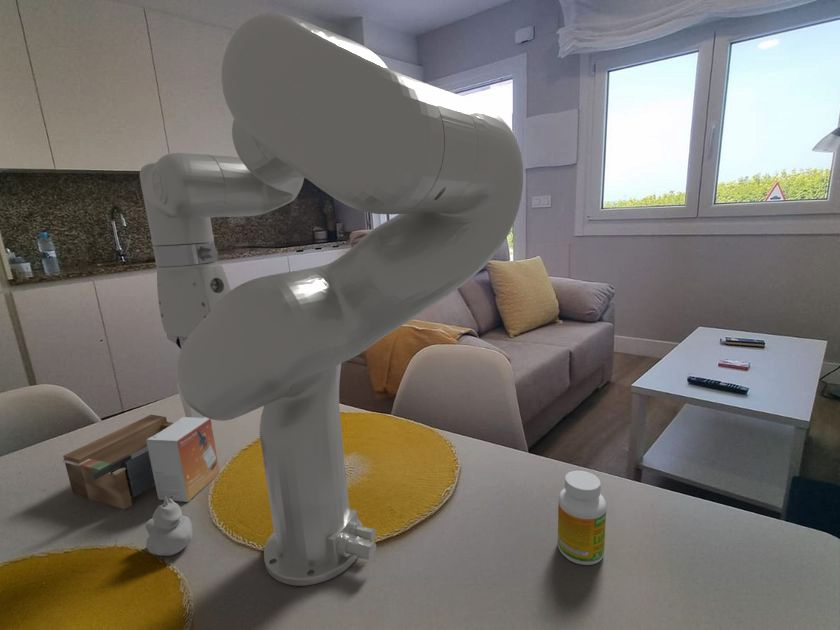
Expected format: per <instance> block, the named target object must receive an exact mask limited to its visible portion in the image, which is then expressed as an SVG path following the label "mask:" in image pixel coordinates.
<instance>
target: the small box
mask: <svg viewBox="0 0 840 630" xmlns="http://www.w3.org/2000/svg"><path fill="white" fill-rule="evenodd" d="M172 423H173V424H172V425H170V426H169V427H167V428H165V429H164V430H162V431H161V432H159V433H157V434H156V435H154V436H152V437H150V438H148V439H147V440H146V442H147V447H148V452H149V457H150V461H151V466H152V471H153V476H154V481H155V484H154V485H155V490H156V494H157V499H158V500H160V501H164V499H165V497H167V500H168V499H169V498H170V499H172V500H173V501H174V502H184V503H185V502H186V503H188V502H191V500H192V499H193V498H194V497H195V496H197V495H198V493H200V492H201V491H202V490H203V489H204V488H205V487H207V486H208V484H210V483H211V482H213V480H215V479H216V478H218V476H220V468H219V466H220V465H219V461H218V455H217V448H216V443H215V437H214V432H213V425H212V424H213V423H212V419H209V418H194V417H186V416H182V417H180V418H179V419H178V420H177V421H175V422H172Z"/></svg>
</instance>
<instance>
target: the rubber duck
mask: <svg viewBox="0 0 840 630" xmlns="http://www.w3.org/2000/svg"><path fill="white" fill-rule="evenodd" d="M144 528H145V530H146V532H147V533H148V538H147V539H146V548H147V550H148V552H149V553H151V554H152V555H157V556H166V557H168V556H173V555H176V554H178V553H179V552H181V551H183V550H184V548H186V547H187V546H189V544H190V543H191V541H192V540H193V524H192V521H191V519H190V518H189V517H188V516H186V515H183V511H182V509H181V506H180V505H179V503H177V502H176V501H173V500H172V499H170V498H169V499H168V500H167V497H165V499H164V500H163V503H162V504H159V505H157V507H156V509H155V510H154V512H153V514H152V518H150V519H149V520H148V521H147V522H146V523H145V524H144Z"/></svg>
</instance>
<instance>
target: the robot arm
mask: <svg viewBox="0 0 840 630" xmlns="http://www.w3.org/2000/svg"><path fill="white" fill-rule="evenodd" d="M221 87H222V94H223V97H224V100H225V102H226V105H227V107H228V110H229V111H230V114H231V115H232V117H233V118H234V119H233V122H232V127H231V138H232V142H233V145H234V149H235V151H236V154H237V156H228V155H213V154H200V153H188V152H187V153H186V152H171V153H167V154H164V155H163V156H161V157H160V158H159V159H157V161H156V162H152V163H151V162H150V163H148V164H147V163H146V164H145V165H143V166H142V167H141V169H140V171H139V180H140V186H141V192H142V198H143V203H144V206H145V212H146V217H147V222H148V228H149V234H150V238H151V242H152V243H151V245H152V250H153V255H154V260H155V265H156V291H157V300H158V308H159V313H160V314H159V315H160V318H161V319H160V320H161V323H162V327H163V330H164V332H165V334H166V338H167V340H169V341H170V342H172V343H174V344H175V345H176V346H177V347H178V348H179V349H180V351H179V355H178V359H177V367H176V372H177V373H176V375H177V383H179V387H180V390H181V393H182V395H183V397H184V399H185V400H186V402H187V403H188V404H189V405H190V406H191V408H192V409H194V410H195V411H196V412H197V413H199V414H200V415H202V416H204V417H206V418H209V419H211V420H214V421H230V420H234V419H236V418H240V417H241V416H244V415H247V414H248V413H249V414H250V412H253V411H255V410H258V409H260V408H262V410H261V411H262V412H261V416H260V422H259V440H260V447H261V453H262V460H263V467H264V472H265V479H266V480H265V482H266V488H267V494H268V495H267V496H268V501H269V507H270V513H271V521H272V528H273V532H272V533H271V535H270V536H269V537H268V539H267V540H266V543H265V546H264V548H263V549H264V550H263V558H264V559H263V560H264V564H265V565H264V566H265V568H266V571H267V572H268V574H269V575H270V576H271V577H272V578H273V579H275V580H276V581H278V582H280V583H282V584H285V585H286V584H287V585H291V586H311V585H316V584H319V583H320V584H321V583H323V582H326V581H328V580H329V581H330V580H331V579H333V578H335V577H337V576H338V575H340V574H342V573H344V571H346V570H347V569H348V568H349V567H351V566H352V565H353V564H354V562H355V561H357V560H358V558H359V559H362V560H366V561H373V559H374V558H375V556H376V552H377V543H376V542H374V541H375V538H376V537H377V536H376V535H377V530H376V529H375V528H373V527H372V528H371V527H367V526H363V523H362V522H361V520H360V519H359V518H358V510H357V509H351V508H350V501H349V493H348V482H347V474H346V472H347V471H346V462H345V453H344V443H343V434H342V433H343V430H342V423H341V422H342V421H341V411H340V410H341V409H340V380H341V379H340V378H341V369H342V363H345V362H347V361H349V360H351V359H354V358H355V357H356V356H359V355H360V354H362V353H363V352H365V351H366V350H368V349H369V348H370V347H371V346H373V345H375V344H376V343H377V342H379V341H380V340H381V339H383V338H384V337H386V336H388V335H389V334H391V333H392V332H394V331H396V330H398V329H399V328H401V327H402V326H404V325H405V324H407V323H409V322H410V321H412V320H413V319H415V318H416V317H417V316H419V315H421V314H422V313H423V312H425V311H426V310H428V309H429V308H431V307H432V306H434V305H435V304H437V303H439V302H440V301H442V300H443V299H445V298H446V297H448V296H449V295H451V294H452V293H454V292H456V291H457V290H458V289H460V288H461V287H462V286H464V285H465V284H466V283H467V282H469V281H470V280H471V279H473V277H475V276H476V275H477V274H478V273H479V272H480V271H481V270H482V269H483V268H484V267H486V265H487V264H488V263H489V262H490V261H491V260H492V258H493V257H495V255H496V254H497V253H498V251H499V250H500V248H501V247H502V246H503V244H504V242H506V239H507V238H508V236H509V234H510V232H511V230H512V228H513V226H514V223H515V220H516V218H517V216H518V212H519V211H520V210H519V209H520V205H521V200H522V196H523V190H524V189H523V187H524V164H523V158H522V153H521V148H520V146H519V143H518V139H517V138H516V136H515V134H514V132H513V131H512V129H511V127H510V126H509V125H508V123H506V122H505V121H504V119H503V118H502V117H500V115H498V114H497V113H496V112H494V111H493V110H492V109H490V108H489V107H487V106H485V105H483V104H481V103H480V102H477V101H475V100H472V99H470V98H467V97H465V96H462V95H460V94H457V93H454V92H452V91H448V90H446V89H442V88H440V87H437V86H434V85H431V84H429V83H426V82H423V81H422V80H418V79H415V78H413V77H411V76H407V75H404V74H402V73H400V72H397V71H395V70H392V69H390V68H389V67H388V66H387V65H386V63H385V62H384V61H383V60H382V59H381V57H379V55H377V54H376V53H374V52H373V50H371V49H369V48H367V47H366V46H364V45H362V44H361V43H358V42H356V41H354V40H352V39H350V38H348V37H345V36H343V35H340V34H338V33H335V32H333V31H330V30H328V29H325V28H322V27H320V26H317V25H315V24H313V23H310V22H309V21H306V20H303V19H301V18H298V17H296V16H292V15H290V14H286V13H283V12H274V11H271V12H264V13H260V14H258V15H255V16H253V17H251V18H249V19H247V21H244V23H242V24H241V25H240V26H239V27H238V29H237V30H236V31H235V32H234V34H233V35H232V37H231V38H230V40H229V41H228V44H227V45H226V49H225V51H224V54H223V60H222V64H221ZM305 179H307V180H308V181H309V182H311V183H312V184H313V185H315V186H316V187H317V188H318V189H320V190H321V191H323V193H324V192H325V193H326V194H327V195H329V196H330V197H332V198H333V199H335V200H337V201H338V202H340V203H342V204H344V205H345V206H348V207H350V208H353V209H355V210H357V211H361V212H365V213H368V214H374V215H395V216H393V217H392V218H390V219H388V220H386V221H384V222H383V223H381V224H380V225H378V226H376V227H375V228H373V229H372V230H371V231H369V232H367V234H365V235H364V236H363V237H361V239H360V240H359V241H358V242H357V243H356V244H355V245H354V246H353V247H352V248H350V249H348V251H346V252H344V254H342V255H341V256H340V257H338V258H337V259H335V260H334V261H331V262H330V263H328V264H324V265H320V266H313V267H310V268H305V269H300V270H293V271H288V272H287V271H286V272H282V273H281V272H280V273H274V274H269V275H264V276H259V277H257V278H254V279H250V280H248V281H245V282H243V283H241V284H240V285H238V286H235V287H234V288H233V289H231V287H230V284H229V280H228V277H227V274H226V272H225V270H224V268H223V266H222V264H218V262H219V261H218V256H219V252H218V249H217V248H216V246H215V239H214V232H213V225H212V218H213V219H214V218H229V217H232V218H233V217H256V216H261V215H265V214H267V213H270V212H272V211H274V210H277V209H279V208H282V207H283V206H285V205H287V204H290V203H292V202H293V201H294V200H295V199H296V198H298V195H299V193H300V191H301V189H302V187H303V184H304V180H305Z"/></svg>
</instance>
